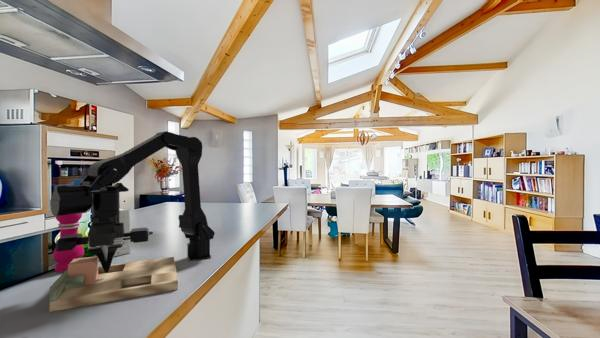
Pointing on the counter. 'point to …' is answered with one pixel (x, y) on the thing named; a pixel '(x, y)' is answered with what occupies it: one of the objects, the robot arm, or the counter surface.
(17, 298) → the counter surface
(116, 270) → the board
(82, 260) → the block
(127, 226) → the skincare box
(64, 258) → the pepper mill
